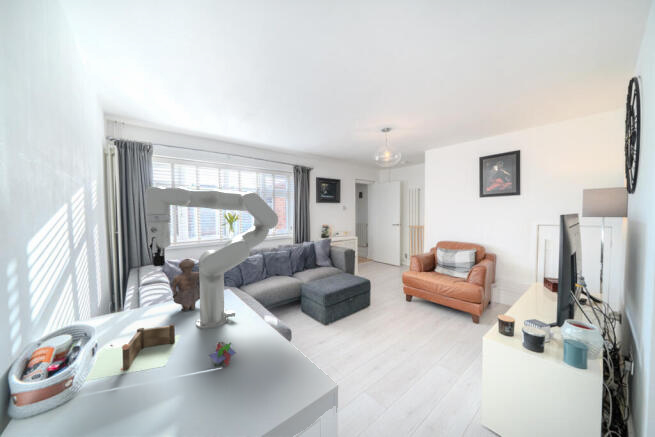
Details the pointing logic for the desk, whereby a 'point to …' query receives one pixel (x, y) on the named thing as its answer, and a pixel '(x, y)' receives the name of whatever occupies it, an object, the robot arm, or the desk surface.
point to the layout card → (146, 359)
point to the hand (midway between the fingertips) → (159, 265)
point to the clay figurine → (186, 286)
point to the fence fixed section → (157, 335)
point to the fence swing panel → (131, 350)
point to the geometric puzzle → (222, 353)
